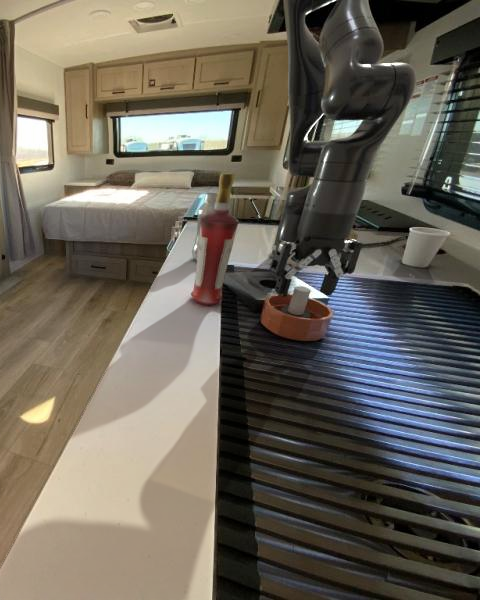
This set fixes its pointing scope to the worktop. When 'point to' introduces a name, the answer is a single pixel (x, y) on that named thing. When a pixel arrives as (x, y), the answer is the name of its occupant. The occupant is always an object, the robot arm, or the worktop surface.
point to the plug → (298, 303)
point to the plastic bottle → (203, 211)
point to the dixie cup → (423, 245)
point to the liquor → (215, 246)
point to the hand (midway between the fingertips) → (303, 294)
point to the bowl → (296, 319)
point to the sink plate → (263, 288)
